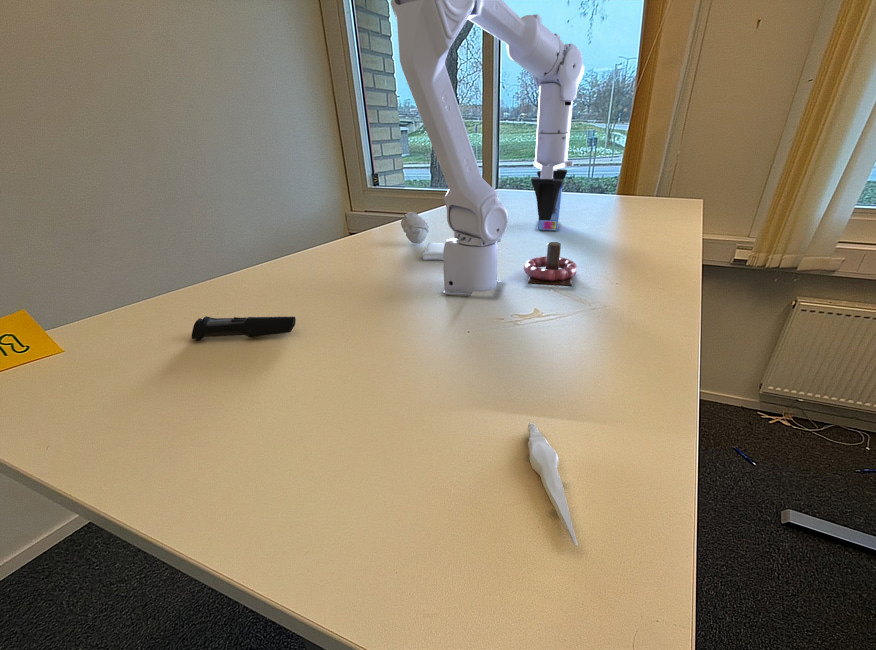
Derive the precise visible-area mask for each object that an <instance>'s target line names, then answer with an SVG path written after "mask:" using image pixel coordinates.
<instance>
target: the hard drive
mask: <svg viewBox="0 0 876 650" xmlns="http://www.w3.org/2000/svg"><path fill="white" fill-rule="evenodd" d="M444 245H445V242H428V243H427V245H426V246H425V248H424V250H423V252H422V260H429V261H430V260H431V261H432V260H433V261H434V260H442V261H443V251H444Z"/></svg>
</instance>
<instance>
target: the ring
mask: <svg viewBox="0 0 876 650" xmlns="http://www.w3.org/2000/svg"><path fill="white" fill-rule="evenodd" d="M546 260H547V255H546V256H537V257H534V258H530V259H528V260H527V261H526V262H525V264H524V266H523V271H524V273H525V274H526V275H527V276H528V277H529V278H530V277H532V278H535V279H538V280H546V281H559V280H566V279H568V278H571V277H573V278H574V276H576V274H577V271H578V265H577V264H576V263H575V262H574V261H573V260H571V259H569V258H565V257H561V256H560V260H559V269H557V270H549V269H546ZM541 268H542V269H541Z"/></svg>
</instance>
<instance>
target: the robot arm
mask: <svg viewBox="0 0 876 650" xmlns="http://www.w3.org/2000/svg"><path fill="white" fill-rule="evenodd" d="M390 6H391V9H392V12H393V14H394V17H395V20H396V23H397V25H396V26H397V38H398V39H397V40H398V54H399V55H398V56H399V63H400V67H401V70H402V72H403V75H404V77H405V80H406V83H407V85H408V87H409V90H410V92H411V95H412V98H413V101H414V103H415V106H416V109H417V110H418V113H419V116H420V118H421V121H422V124H423V126H424V128H425V129H424V130H425V131H426V134H427V137H428V138H429V141H430V144H431V146H432V149H433V152H434V154H435V157H436V159H437V162H438V164H439V167H440V170H441V173H442V175H443V178H444V180H445V182H446V186H447V187H448V190H447V192H446V194H445V195H444V197H443V202H444V204H445V207H446V222H447V224H448V227H449V228H450V229H451V231H453V233H454V236H453V237H454V238H449V239H446V240H445V242H444V243H445V245H444V251H443V260H442V264H443V268H442V269H443V282H444V283H443V284H444V285H443V286H444V290H443V295H447V296H448V295H449V296H462V297H471V296H472V295H473V293H478V292H479V293H480V292H481V293H482V292H487V291H492V290H494V289H495V288H496V287H498V283H502V282H503V280H500V279H498V256H499V255H498V252H499V250H498V248H499V243H500V242H501V239H502V238H503V236H504V235H505V233H506V231H507V228H508V224H509V215H508V211H507V208H506V206H505V204H503V203H502V202H501V201H500V199H499V196H498V194H497V192H496V190H495V189H494V188H493V187H492V186H491V185H490V184H489V183H488V182H487V181H486V180H485V179H484V178H483V177H482V173H481V170H480V167H479V164H478V161H477V158H476V155H475V152H474V149H473V146H472V143H471V140H470V137H469V133H468V131H467V127H466V124H465V122H464V118H463V115H462V113H461V108H460V106H459V103H458V100H457V97H456V94H455V91H454V88H453V85H452V81H451V78H450V75H449V73H448V68H447V67H446V62H447V58H448V55H449V52H450V49H451V47H452V46H453V44H454V42H455V40H456V39H457V37H458V35H459V34H460V32H461V30H462V29H463V27H464V26H465V24H466V23H467V21H470V22H471V23H473V24H474V25H476V26H477V27H479V28H480V29H482V30H483V31H485V32H487V33H489V34H490V35H492V36H493V37H494V38H496V39H498V40H499V41H501V42H502V43H504V44H505V45H506V51H507V55H508V58H509V59H510V60H511V61H513V62H514V63H516V64H517V65H518V66H519V67H521V68H522V69H524V70H525V71H527V72H528V73H529V74H531V75H532V80H533V82H534V85H535V86H536V88H539V90H538V107H537V108H538V109H537V124H536V125H537V126H536V140H535V141H536V142H535V159H534V161H533V167H535V168H536V169H538V170H537V172H536V174H537V176H531V178H530V183H531V185H532V187H533V191H534V194H535V198H536V206H537V207H536V208H537V216H538V218H539V220H551V217H552V214H553V211H554V209H555V206H556V203H557V198H558V194H559V190H560V187H561V185H562V183H563V184H564V182H565V177H566V176H567V173H568V169H564V168H568V167H573V166H574V163H575V161H574V160H568V157H569V145H570V138H571V137H570V136H571V135H570V134H571V125H572V116H573V107H574V101H575V100H576V98H577V95H578V88H579V85H580V83H581V82H582V79H583V76H584V73H585V67H586V65H584V58H583V54H582V51H581V50H580V49H579V48H578V46H577V45H576V44H574V43H564V42H563V41H562V40H561V37H560V35H559V34H558V33H553V32H552V31H551V30H550V29H549V28H547V27H546V26H545V25H544V24H543V23H542V21H543V18H542V17H541V16H540V15H539V14H537V13H536V14H532V15H531V14H526V15H523V16H522V17H520V16H519V15H518V14H517V13H516V12H515V11H514V10H513V8H511V6H509V5H508V4H507V3H506V2H505V1H504V0H390Z"/></svg>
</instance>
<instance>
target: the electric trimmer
mask: <svg viewBox="0 0 876 650" xmlns="http://www.w3.org/2000/svg"><path fill="white" fill-rule="evenodd" d="M296 319H297V318H296V316H248V317H237V316H234V317H218V318H217V317H211V316H203V318H202V317H201V318H200V317H199V318H198V319H196V321H195V322H194V324H193V327H192V331H191V339H193V340H195V341H197V342H198V341H200V340H202V339H203V338H209V337H211V338H213V337H231V336H233V337H234V336H246V337H248V338H256V337H266V336H271V335H279V334H287V333H291V332H292V331H293V329H294V327H295V326H296V321H297V320H296Z"/></svg>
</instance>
